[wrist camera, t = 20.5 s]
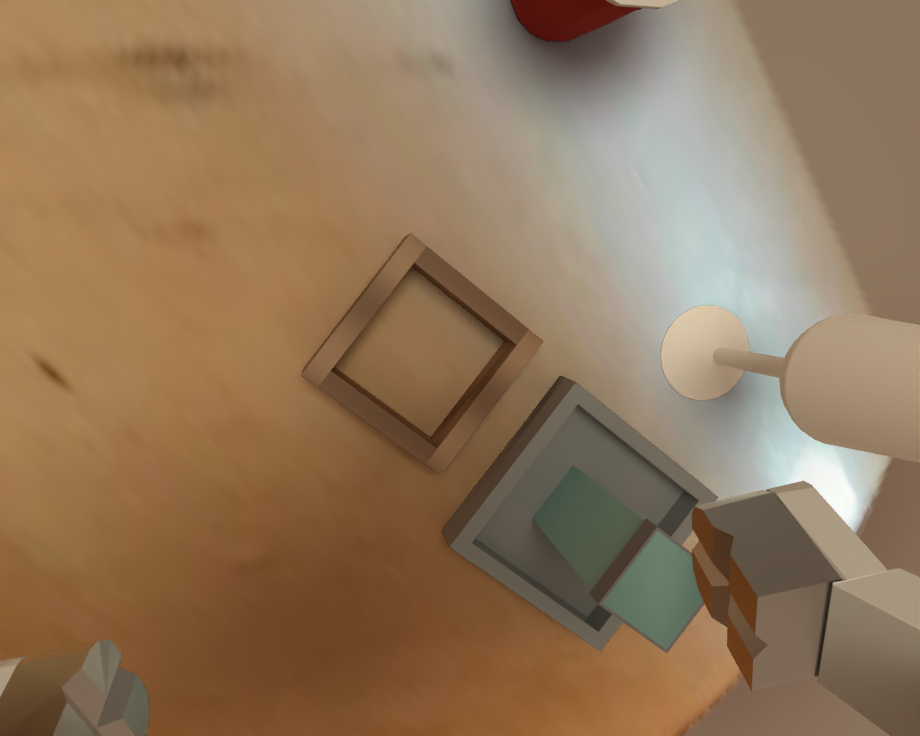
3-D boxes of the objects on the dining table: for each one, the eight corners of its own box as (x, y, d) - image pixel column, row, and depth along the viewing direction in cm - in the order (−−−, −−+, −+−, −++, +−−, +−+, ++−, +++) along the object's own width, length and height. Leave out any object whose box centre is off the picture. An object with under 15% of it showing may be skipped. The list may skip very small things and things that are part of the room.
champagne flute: (641, 361, 45) (966, 445, 22) (702, 284, 45) (1089, 287, 22) (708, 419, 47) (1078, 556, 23) (767, 345, 47) (1194, 407, 23)
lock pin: (581, 557, 45) (666, 653, 34) (529, 519, 44) (598, 604, 33) (624, 501, 45) (724, 577, 34) (572, 462, 44) (657, 526, 33)
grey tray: (584, 628, 47) (600, 651, 44) (442, 529, 44) (449, 547, 41) (694, 483, 47) (718, 496, 44) (560, 375, 44) (576, 382, 41)
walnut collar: (433, 462, 44) (440, 475, 41) (303, 368, 41) (301, 374, 38) (529, 337, 44) (543, 341, 41) (405, 236, 41) (410, 233, 38)
